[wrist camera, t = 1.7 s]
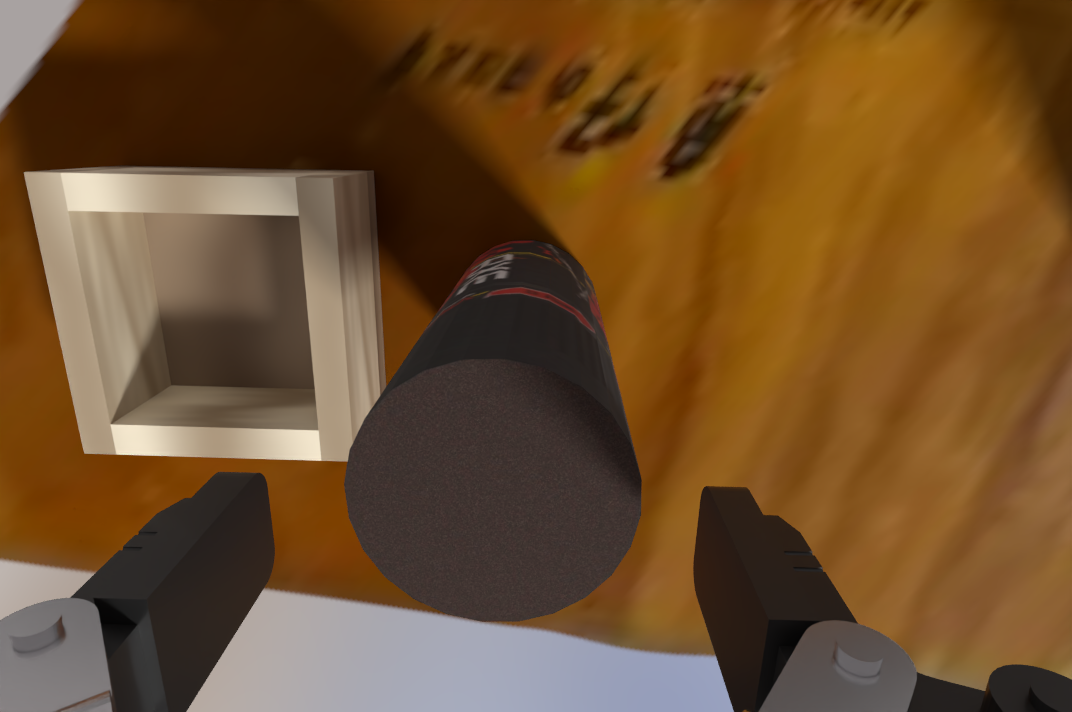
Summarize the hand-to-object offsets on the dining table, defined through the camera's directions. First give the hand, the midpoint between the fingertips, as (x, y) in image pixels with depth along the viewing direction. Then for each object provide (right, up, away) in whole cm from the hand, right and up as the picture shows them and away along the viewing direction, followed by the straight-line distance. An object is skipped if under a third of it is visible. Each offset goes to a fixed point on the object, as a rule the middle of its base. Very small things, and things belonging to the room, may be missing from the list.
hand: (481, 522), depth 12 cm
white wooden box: (-10, +6, +15) cm, 19 cm away
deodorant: (+1, +5, +15) cm, 16 cm away
